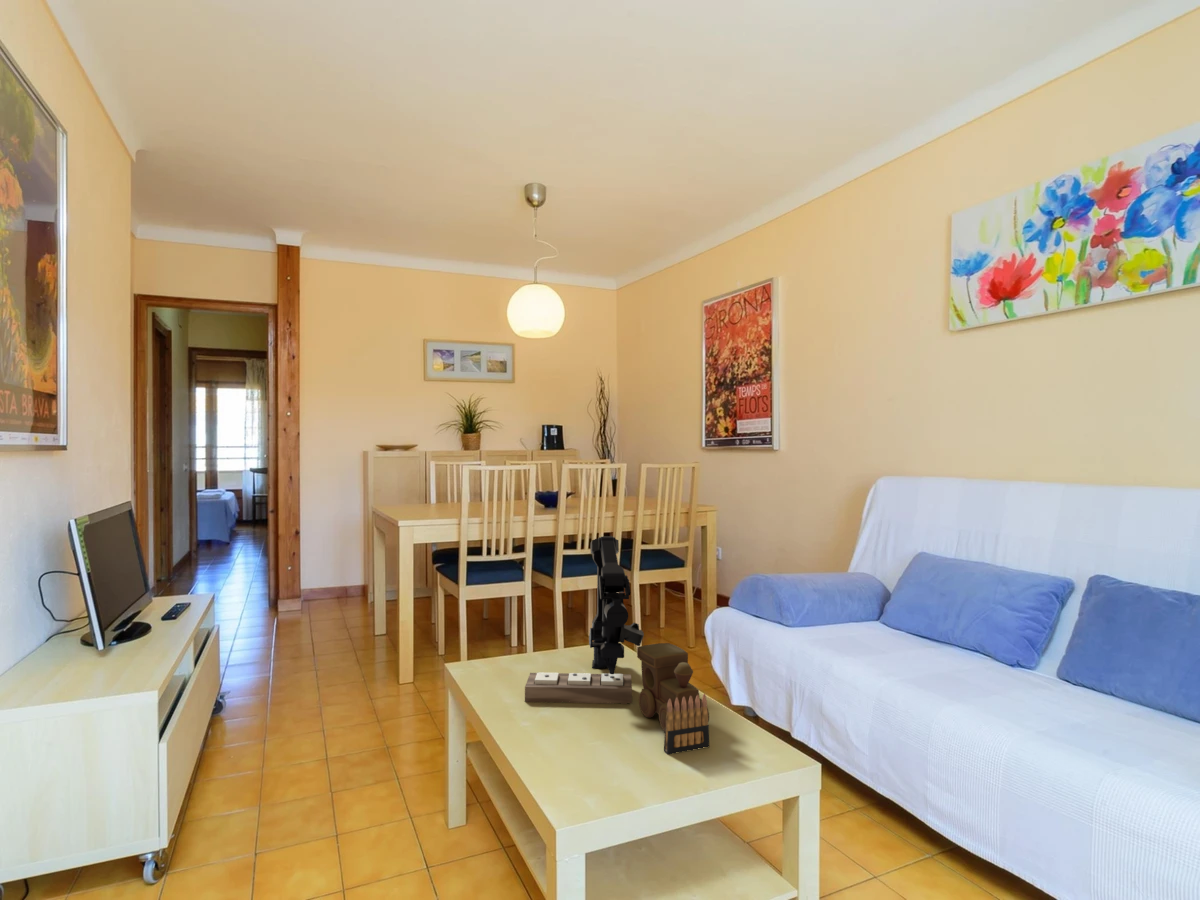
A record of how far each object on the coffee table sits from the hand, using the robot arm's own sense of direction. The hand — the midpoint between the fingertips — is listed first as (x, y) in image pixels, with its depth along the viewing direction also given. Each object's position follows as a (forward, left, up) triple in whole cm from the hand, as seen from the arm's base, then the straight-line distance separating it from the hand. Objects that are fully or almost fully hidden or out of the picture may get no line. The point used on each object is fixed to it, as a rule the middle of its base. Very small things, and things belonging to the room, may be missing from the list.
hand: (612, 673), depth 177 cm
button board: (0, -9, -6) cm, 11 cm away
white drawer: (0, -18, -4) cm, 18 cm away
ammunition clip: (+31, +17, -6) cm, 36 cm away
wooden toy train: (+16, +15, -6) cm, 23 cm away
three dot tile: (0, 0, -4) cm, 4 cm away
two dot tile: (0, -9, -4) cm, 10 cm away
